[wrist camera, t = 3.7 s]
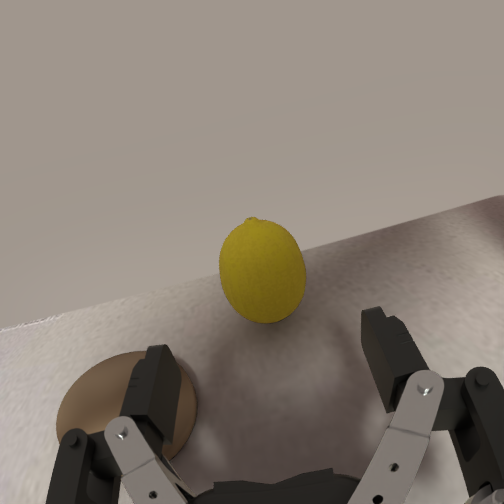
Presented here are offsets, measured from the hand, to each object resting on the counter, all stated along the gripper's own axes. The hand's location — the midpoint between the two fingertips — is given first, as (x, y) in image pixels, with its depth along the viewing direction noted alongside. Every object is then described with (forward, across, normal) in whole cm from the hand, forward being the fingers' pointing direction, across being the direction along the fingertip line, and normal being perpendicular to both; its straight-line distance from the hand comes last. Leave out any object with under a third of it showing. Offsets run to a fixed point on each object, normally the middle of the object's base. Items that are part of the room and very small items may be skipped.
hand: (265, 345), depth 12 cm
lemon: (+8, 0, +6) cm, 11 cm away
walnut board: (+1, +10, +6) cm, 12 cm away
